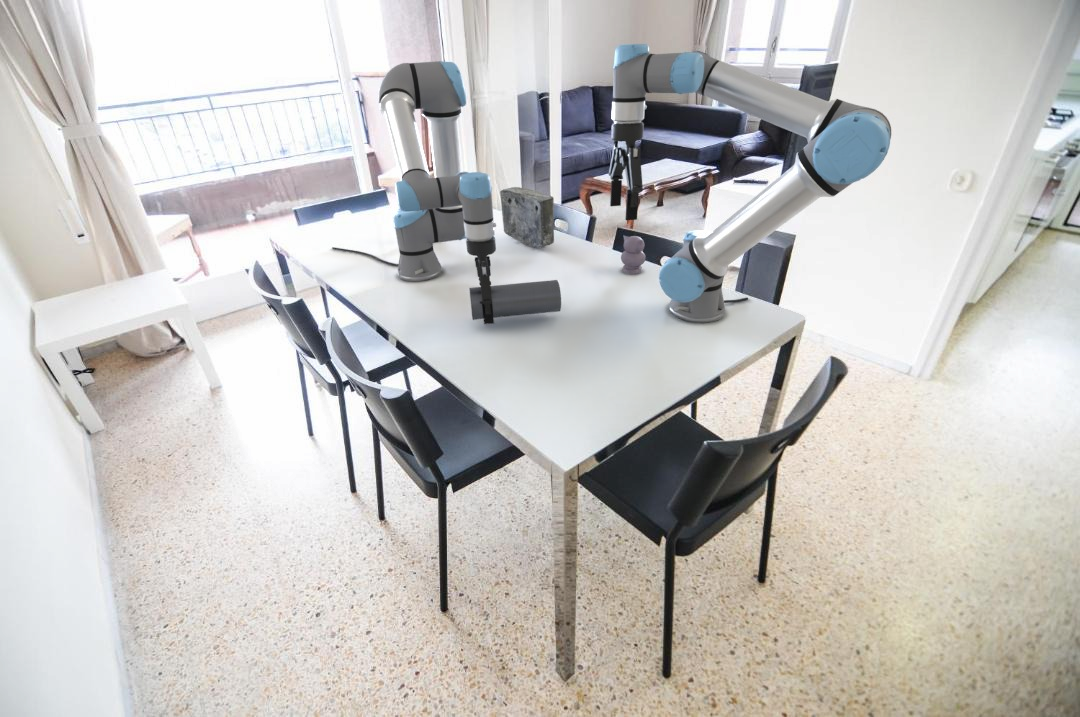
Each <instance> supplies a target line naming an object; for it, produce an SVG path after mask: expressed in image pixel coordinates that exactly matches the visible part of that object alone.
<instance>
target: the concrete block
mask: <svg viewBox="0 0 1080 717" xmlns="http://www.w3.org/2000/svg"><path fill="white" fill-rule="evenodd" d="M499 193H500V203H501V218H502V225H503V232H504V234H505V235H507V236H508V237H510V238H512V239H514V240H515V241H517V242H520V243H521V244H522V245H525V246H528V247H530V248H536V249H539V248H541V249H542V248H545V247H547V246H550V245H552V244H554V243H555V224H554V223H555V219H554V218H555V209H554V208H555V203H554V201H555V200H554V196H552V195H549V194H547V193H544V192H540V191H537V190H533V189H530V188H524V187H519V186H513V187H507V188H503V189H501V190H500V191H499Z"/></svg>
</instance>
